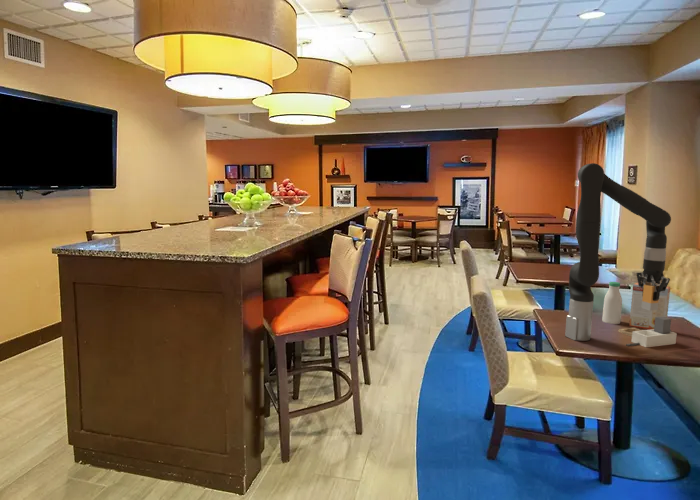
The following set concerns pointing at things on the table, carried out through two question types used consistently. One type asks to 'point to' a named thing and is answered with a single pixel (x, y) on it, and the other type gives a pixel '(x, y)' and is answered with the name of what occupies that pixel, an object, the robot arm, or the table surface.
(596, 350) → the table surface
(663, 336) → the strip
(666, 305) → the cracker box
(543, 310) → the table surface
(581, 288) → the robot arm
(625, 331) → the tray
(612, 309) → the milk bottle
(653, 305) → the plug
